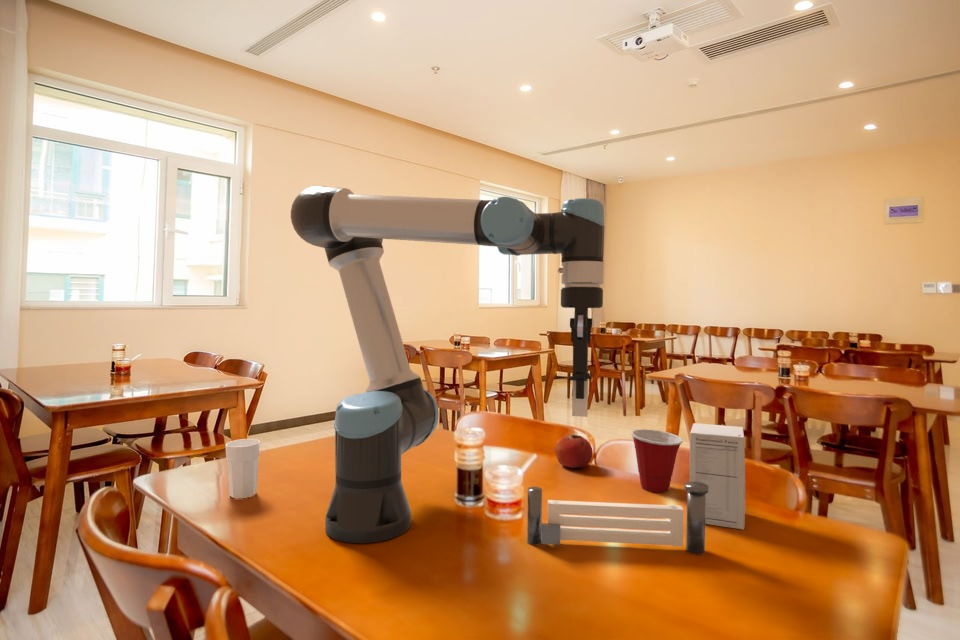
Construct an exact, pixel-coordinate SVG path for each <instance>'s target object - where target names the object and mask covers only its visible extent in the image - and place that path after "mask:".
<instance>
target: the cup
mask: <svg viewBox="0 0 960 640" xmlns="http://www.w3.org/2000/svg"><path fill="white" fill-rule="evenodd" d="M260 449H261V441H260V439H257V438H256V439H255V438H242V439H235V440H231V441H228V442H226V443H225V457H226V462H227V464H226V465H227V476H228V490H229V491H228V492H229V497H230V496H231V497H233V498H246V497H250V496H253V495H254V494H255V493H256V492H257V493H258V479H259V478H258V476H259V475H258V474H259V458H260V453H261V450H260ZM254 496H255V495H254ZM254 496H253V497H254ZM231 497H230V498H231ZM250 498H251V497H250ZM246 499H247V498H246Z"/></svg>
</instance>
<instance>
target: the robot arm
mask: <svg viewBox="0 0 960 640" xmlns="http://www.w3.org/2000/svg"><path fill="white" fill-rule="evenodd" d="M604 207H605V206H604V204H603V203H602V202H601V201H600V200H598V199H594V198H574V199H567V200H565V201H564V202H563V203H562V205H561V209H560V211H558V212H549V213H547V212H546V213H545V212H544V213H540V212H539V213H537V212H536V213H535V212H534V211H533V210H532V209H530V208H529V206H527V205H526V204H525V203H524V202H523V201H520V200H519V199H517V198H513V197H510V196H500V197H496V198H493V199H492V200H490V199H484V200H483V199H471V198H470V199H469V198H467V199H466V198H446V197H445V198H443V197H427V196H426V197H424V196H420V197H419V196H401V195H400V196H397V195H380V194H379V195H376V194H373V195H372V194H354V192H353V191H352V190H351V189H350V188H347V187H333V186H332V187H330V186H326V185H325V186H324V185H315V186H310V187H307V188H305V189H304V190H302V191H301V192H300V193H298V195H297V196H296V197H295V198H294V200H293V202H292V204H291V207H290V208H291V209H290V220H291V221H290V222H291V224H292V226H293V230H294V231H295V233H296V234H297V235H298V236H299V238H300V239H302V240H303V241H305V243H307V244H310V245H312V246H314V247H319V248H323V249H324V252H325V255H326V259H327V262H328V266H329V267H331V268H333V269H335V270H336V271H337V272H338V274H339V276H340V280H341V285H342V287H343V291H344V295H345V298H346V303H347V305H348V309H349V313H350V316H351V320H352V323H353V324H352V325H353V327H354V330H355V335H356V338H357V341H358V344H359V348H360V351H361V355H362V359H363V362H364V366H365V369H366V370H365V371H366V373H367V377H368V380H369V383H368V386H367V387H366V390H365V391H364V392H362V393H355V394H352V395H349V396H347V397H344V398H343V399H342V400H340V401H339V403H338V404H336V405H337V406H336V408H335V417H334V418H335V419H334V423H333V427H334V437H335V438H334V443H335V444H334V449H335V450H334V451H335V452H334V454H335V465H334V466H335V467H334V468H335V486H334V489H333V492H332V495H331V498H330V501H329V504H328V508H327V511H326V514H325V518H324V519H325V521H324V523H325V524H324V525H325V527H324V529H325V533H326V534H327V535H328V536H329V537H330V538H332V539H333V540H336V541H339V542H344V543H347V544H348V543H349V544H351V543H352V544H371V543H378V542H383V541H387V540H391V539H395V538H397V537H398V536H401V535H402V534H404V533H406V532H407V531H408V530H409V528H410V527H411V525H412V513H411V512H412V510H411V507H410V503H409V500H408V497H407V494H406V491H405V489H404V486H403V482H402V454H404V453H406V452H408V451H409V450H411V449H412V448H415V447H418V446H420V445H421V444H423V443H425V441H426V440H428V438H429V437H430V436H431V435H432V434H433V433H434V431H435V429H436V427H437V424H438V422H439V416H440V415H439V414H440V413H439V407H438V404H437V401H436V399H435V397H434V396H433V395H432V394H431V393H430V392H429V391H427V390H426V389H425V388H424V385H423V382H422V377H421V375H419V374H417V373H416V372H413V370H411V366H410V362H409V360H408V357H407V353H406V350H405V346H404V345H405V344H404V343H403V338H402V336H401V332H400V328H399V325H398V323H397V319H396V314H395V311H394V308H393V305H392V301H391V297H390V293H389V290H388V287H387V283H386V280H385V277H384V273H383V270H382V267H381V263H380V260H381V258H382V256H383V254H384V252H385V250H384V246H383V240H396V241H410V242H411V241H413V242H427V243H428V242H430V243H444V244H457V245H458V244H459V245H471V246H472V245H474V246H483V247H484V246H486V247H497V249H498V252H499V253H500V254H502V255H508V256H510V255H511V256H517V257H519V256H521V255H522V256H523V255H527V256H528V255H549V254H551V255H558V254H560V256H561V258H560V259H561V266H562V267H558V270H557V273H558V274H561V276H560V278H561V280H560V281H561V282H560V283H561V284H562V285H564V287H561V289H560V306H561V308H565V309H569V308H570V309H574V317H570V319H569V328H570V342H571V343H572V374H571V376H569V377H568V381H572V395H571V396H572V397H571V398H572V404H571V412H572V413H571V415H572V416H571V417H581V418H582V417H583V418H584V417H585V418H587V417H588V407H589V405H588V403H589V402H588V400H589V399H588V397H589V395H588V394H589V392H588V390H589V380H592V375H591V374H590V375H589V369H588V367H589V366H588V365H589V363H588V361H589V359H588V358H589V343H590V342H591V339H592V337H591V336H592V327H593V317H592V318H589V309H600V308H603V306H604V303H603V302H604V289H603V287H601V285H603V284H604V278H605V276H604V274H605V273H604V270H605V267H604V266H605V264H604V263H605V262H604V251H605V215H604V214H605V213H604V211H605V210H604Z"/></svg>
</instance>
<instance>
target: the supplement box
mask: <svg viewBox="0 0 960 640" xmlns="http://www.w3.org/2000/svg"><path fill="white" fill-rule="evenodd" d="M689 482H701V483H704V484H706V485H708V486H709V488H708V493H706V507H705V525H711V526H718V527H725V528H731V529H737V530H745V520H746V519H745V517H746V455H745V435H744V427H743V426H737V425H734V426H733V425H724V424H723V425H722V424H721V425H720V424H708V423H707V424H706V423H696V422H695V423H694V422H693V423H692V426H691V430H690V433H689Z"/></svg>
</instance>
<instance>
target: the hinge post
mask: <svg viewBox="0 0 960 640" xmlns="http://www.w3.org/2000/svg"><path fill="white" fill-rule="evenodd" d="M708 488H709V486H708V485H706V484H704V483H701V482H690V481H686V482H684V490H685V491H686V492H687V493H686V535H685V536H686V542H685V543H686V545H685V546H686V547H685V550H686V551H687V552H688V553H691V554H693V555H697V556H698V555H704V554H705V553H706V524H705V507H706V493H708Z"/></svg>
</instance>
